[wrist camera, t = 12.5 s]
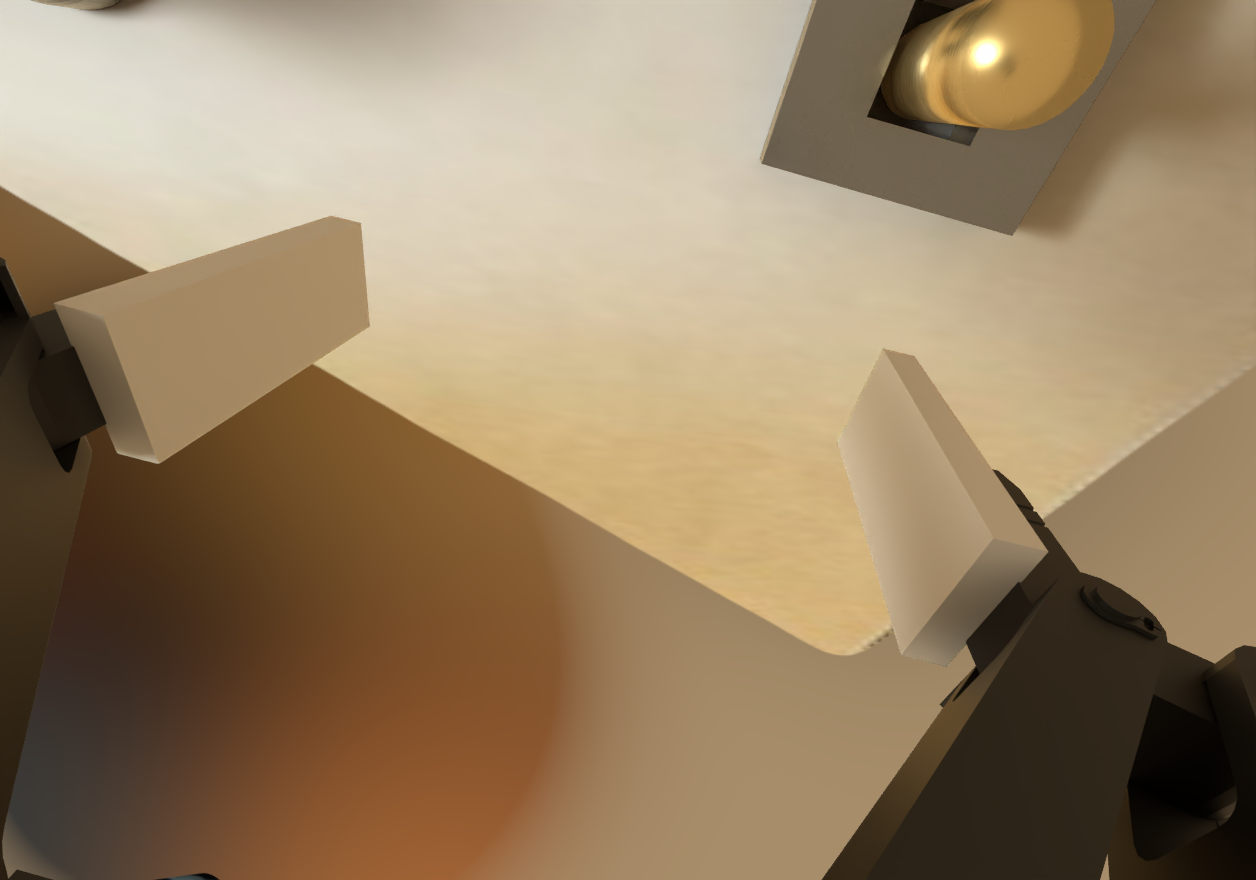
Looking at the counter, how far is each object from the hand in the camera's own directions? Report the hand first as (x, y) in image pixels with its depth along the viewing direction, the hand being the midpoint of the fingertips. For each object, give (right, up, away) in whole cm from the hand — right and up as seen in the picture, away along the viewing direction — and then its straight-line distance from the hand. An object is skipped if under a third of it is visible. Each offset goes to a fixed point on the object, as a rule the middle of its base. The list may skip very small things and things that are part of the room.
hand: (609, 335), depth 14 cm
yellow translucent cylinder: (+16, +17, +15) cm, 28 cm away
